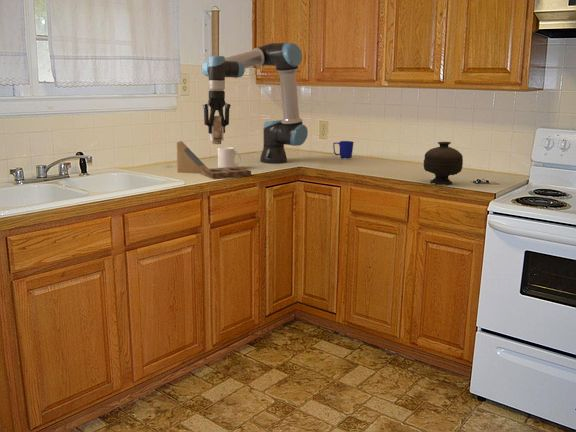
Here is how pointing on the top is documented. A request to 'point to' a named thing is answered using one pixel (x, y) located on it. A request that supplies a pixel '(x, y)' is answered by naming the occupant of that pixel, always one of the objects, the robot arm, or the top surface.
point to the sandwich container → (188, 160)
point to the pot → (443, 162)
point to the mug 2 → (345, 149)
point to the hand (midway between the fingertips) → (216, 140)
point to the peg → (217, 130)
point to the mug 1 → (227, 157)
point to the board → (225, 172)
